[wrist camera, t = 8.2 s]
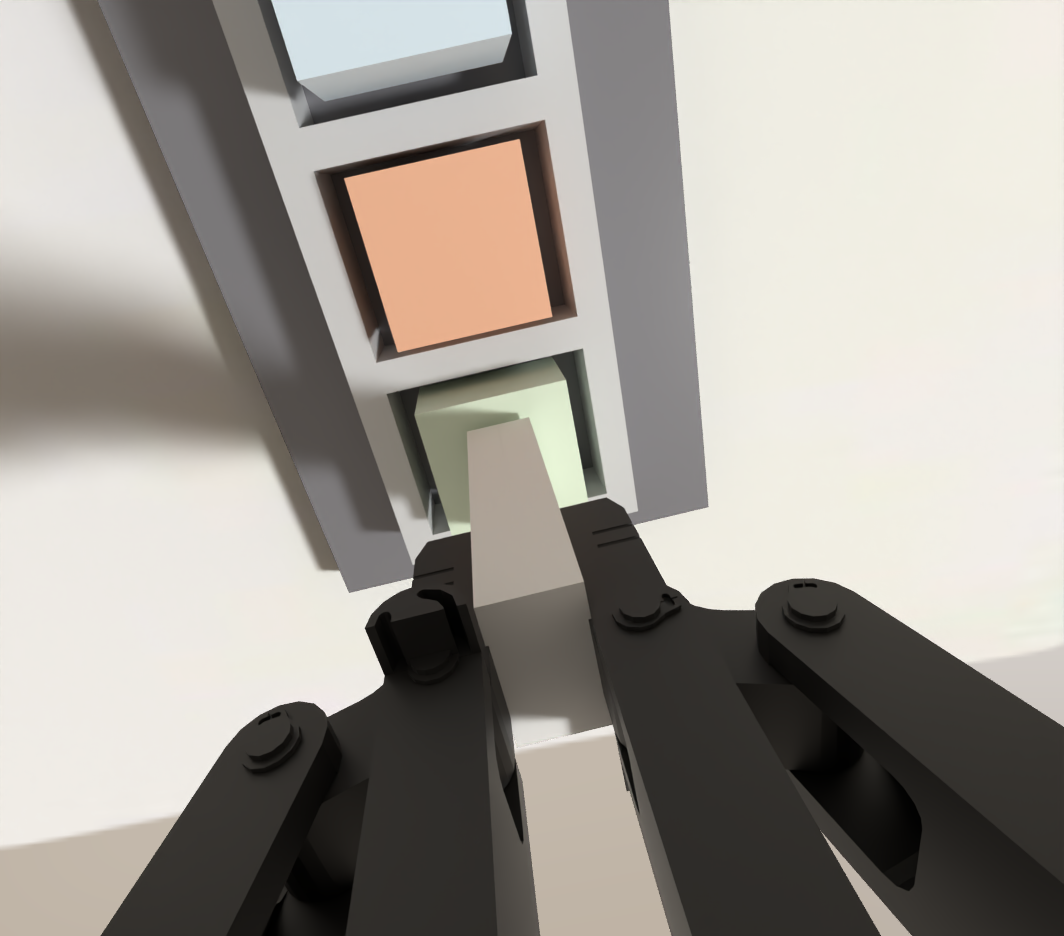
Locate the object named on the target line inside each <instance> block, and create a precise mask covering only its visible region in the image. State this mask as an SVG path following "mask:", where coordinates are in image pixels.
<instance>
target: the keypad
mask: <svg viewBox="0 0 1064 936" xmlns="http://www.w3.org/2000/svg"><path fill="white" fill-rule="evenodd" d="M97 1H98V3H99V6H100V8H101V10H102V13H103V15H104V17H105V20H106V22H107V24H108V27H109V29H110V31H111V34H112V36H113V38H114V41H115V43H116V46H117V48H118V50H119V53H120V55H121V57H122V60H123V62H124V64H125V67H126V69H127V71H128V74H129V76H130V78H131V81H132V83H133V86H134V88H135V90H136V93H137V95H138V97H139V100H140V102H141V104H142V107H143V109H144V111H145V114H146V116H147V118H148V121H149V123H150V126H151V128H152V130H153V133H154V135H155V137H156V140H157V142H158V144H159V147H160V149H161V151H162V154H163V156H164V158H165V161H166V163H167V166H168V168H169V170H170V173H171V175H172V177H173V180H174V182H175V184H176V187H177V189H178V191H179V194H180V196H181V198H182V201H183V203H184V206H185V208H186V210H187V213H188V215H189V217H190V220H191V222H192V224H193V227H194V229H195V231H196V234H197V236H198V238H199V241H200V243H201V246H202V248H203V250H204V253H205V255H206V257H207V260H208V262H209V264H210V267H211V269H212V271H213V274H214V276H215V278H216V281H217V283H218V286H219V288H220V290H221V293H222V295H223V297H224V300H225V302H226V304H227V307H228V309H229V311H230V314H231V316H232V318H233V321H234V323H235V326H236V328H237V330H238V333H239V335H240V337H241V340H242V342H243V344H244V347H245V349H246V351H247V354H248V356H249V358H250V361H251V363H252V366H253V368H254V370H255V373H256V375H257V377H258V380H259V382H260V384H261V387H262V389H263V391H264V394H265V396H266V398H267V401H268V403H269V406H270V408H271V410H272V413H273V415H274V417H275V420H276V422H277V424H278V427H279V429H280V431H281V434H282V436H283V438H284V441H285V443H286V446H287V448H288V450H289V453H290V455H291V457H292V460H293V462H294V464H295V467H296V469H297V471H298V474H299V476H300V478H301V481H302V483H303V486H304V488H305V490H306V493H307V495H308V497H309V500H310V502H311V504H312V507H313V509H314V511H315V514H316V516H317V518H318V521H319V523H320V526H321V528H322V530H323V533H324V535H325V537H326V540H327V542H328V544H329V547H330V549H331V551H332V554H333V556H334V558H335V561H336V563H337V566H338V568H339V570H340V573H341V575H342V577H343V580H344V582H345V584H346V587H347V589H348V591H349V593H351V592H355V591H359V590H363V589H367V588H371V587H376V586H380V585H384V584H388V583H392V582H397V581H401V580H405V579H409V578H413V573H414V564H415V559H416V557H417V556H418V554H419V553H420V552H421V550H422V549H423V547H424V546H425V545H426V543H427V542H428V541H432V540H437V539H441V538H445V537H449V536H452V534H451V531H450V528H449V525H448V522H447V518H446V515H445V512H444V509H443V506H442V502H441V499H440V496H439V493H438V489H437V486H436V483H435V480H434V477H433V473H432V470H431V467H430V464H429V461H428V457H427V454H426V451H425V448H424V444H423V441H422V438H421V435H420V432H419V428H418V425H417V422H416V419H415V416H414V414H415V409H416V404H417V399H418V394H419V389H420V387H423V386H428V385H432V384H436V383H441V382H445V381H449V380H454V379H458V378H462V377H466V376H471V375H475V374H479V373H484V372H488V371H492V370H497V369H501V368H505V367H510V366H514V365H518V364H523V363H527V362H531V361H535V360H540V359H544V358H548V357H552V358H553V359H554V361H555V363H556V364H557V366H558V367H559V369H560V371H561V372H562V374H563V376H564V377H565V379H566V382H567V388H568V393H569V399H570V404H571V410H572V415H573V421H574V426H575V432H576V437H577V442H578V448H579V453H580V459H581V464H582V470H583V475H584V481H585V486H586V492H587V497H588V502H589V501H593V500H597V499H601V498H606V497H607V498H609V499H610V500H612V501H614V502H615V503H617V504H619V505H621V506H622V507H624V508H625V510H626V512H627V514H628V516H629V518H630V519H631V521H632V524H633V525H635V524H639V523H643V522H648V521H652V520H656V519H660V518H664V517H669V516H673V515H677V514H681V513H685V512H689V511H694V510H698V509H702V508H706V507H708V495H707V483H706V470H705V457H704V445H703V432H702V419H701V407H700V394H699V381H698V369H697V356H696V343H695V331H694V318H693V305H692V293H691V280H690V267H689V255H688V242H687V229H686V217H685V204H684V191H683V179H682V166H681V154H680V141H679V128H678V116H677V103H676V90H675V78H674V65H673V52H672V40H671V27H670V14H669V2H668V0H506V3H507V9H508V14H509V20H510V26H511V31H512V35H511V38H510V41H509V44H508V47H507V50H506V53H505V56H504V59H503V62H501V63H497V64H492V65H488V66H483V67H479V68H474V69H469V70H465V71H460V72H456V73H451V74H447V75H442V76H438V77H433V78H429V79H424V80H420V81H415V82H411V83H406V84H402V85H397V86H392V87H388V88H383V89H379V90H374V91H370V92H365V93H361V94H356V95H352V96H347V97H343V98H338V99H334V100H329V101H323V100H322V99H321V98H319V97H318V96H317V95H315V94H314V93H313V92H311V91H310V90H309V89H307V88H306V87H305V86H303V85H302V84H301V83H299V82H298V81H297V79H296V76H295V73H294V70H293V67H292V63H291V60H290V57H289V54H288V51H287V48H286V45H285V41H284V38H283V35H282V32H281V29H280V26H279V23H278V20H277V16H276V13H275V10H274V7H273V4H272V1H271V0H97ZM517 139H520V144H521V149H522V155H523V160H524V166H525V171H526V176H527V182H528V187H529V193H530V198H531V203H532V209H533V214H534V220H535V225H536V231H537V236H538V241H539V247H540V252H541V258H542V263H543V268H544V274H545V279H546V285H547V290H548V296H549V301H550V306H551V312H552V317H549V318H545V319H541V320H536V321H532V322H528V323H523V324H519V325H515V326H510V327H506V328H502V329H497V330H493V331H489V332H484V333H480V334H476V335H471V336H467V337H463V338H458V339H454V340H450V341H445V342H441V343H437V344H432V345H428V346H424V347H419V348H415V349H411V350H406V351H402V352H398V351H397V348H396V345H395V342H394V338H393V335H392V332H391V329H390V326H389V322H388V319H387V316H386V313H385V309H384V306H383V303H382V300H381V296H380V293H379V290H378V287H377V283H376V280H375V277H374V274H373V270H372V267H371V264H370V261H369V258H368V254H367V251H366V248H365V245H364V241H363V238H362V235H361V232H360V228H359V225H358V222H357V219H356V215H355V212H354V209H353V206H352V202H351V199H350V196H349V193H348V190H347V186H346V183H345V180H344V178H348V177H352V176H357V175H361V174H366V173H370V172H374V171H379V170H383V169H388V168H392V167H397V166H401V165H406V164H410V163H415V162H419V161H424V160H428V159H433V158H437V157H441V156H446V155H450V154H455V153H459V152H464V151H468V150H473V149H477V148H482V147H486V146H491V145H495V144H500V143H504V142H508V141H513V140H517Z"/></svg>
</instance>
